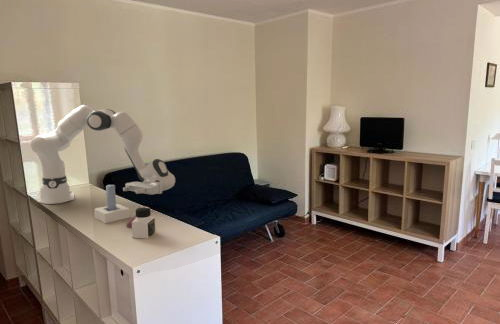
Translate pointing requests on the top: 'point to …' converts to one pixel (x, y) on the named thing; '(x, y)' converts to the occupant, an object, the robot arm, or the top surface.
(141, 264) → the top surface
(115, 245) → the top surface
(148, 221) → the medicine bottle
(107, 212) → the socket block
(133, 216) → the video game controller
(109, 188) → the peg
